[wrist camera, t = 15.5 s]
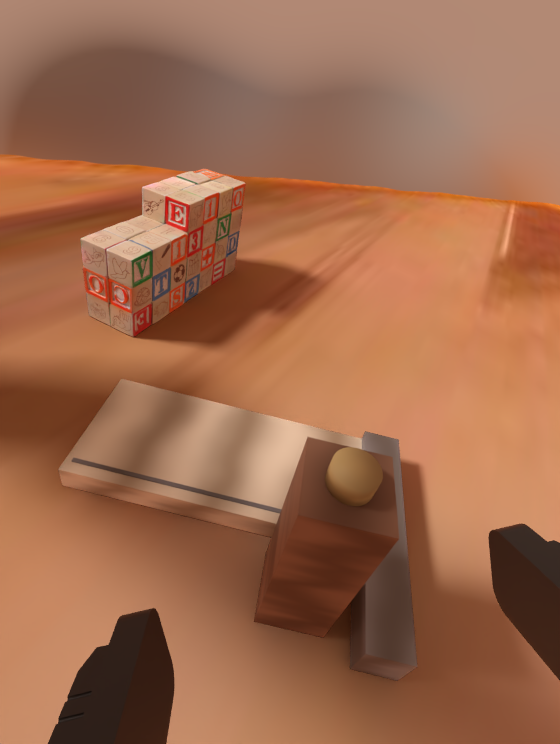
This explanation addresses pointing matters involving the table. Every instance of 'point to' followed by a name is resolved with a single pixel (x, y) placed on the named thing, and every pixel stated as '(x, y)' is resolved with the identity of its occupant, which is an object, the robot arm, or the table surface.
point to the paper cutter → (238, 490)
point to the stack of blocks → (163, 250)
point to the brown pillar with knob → (327, 536)
